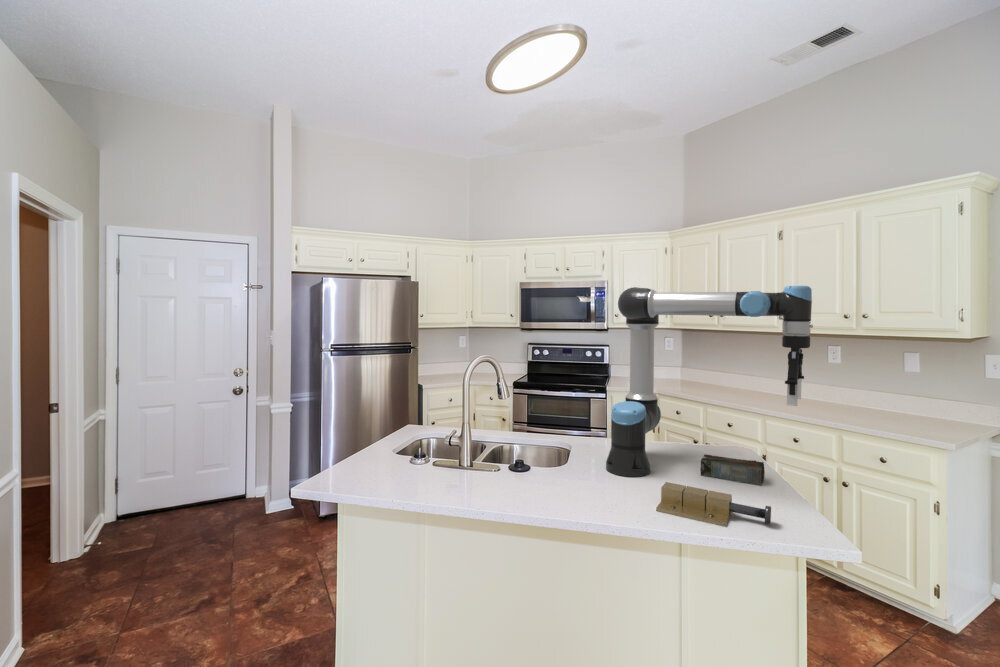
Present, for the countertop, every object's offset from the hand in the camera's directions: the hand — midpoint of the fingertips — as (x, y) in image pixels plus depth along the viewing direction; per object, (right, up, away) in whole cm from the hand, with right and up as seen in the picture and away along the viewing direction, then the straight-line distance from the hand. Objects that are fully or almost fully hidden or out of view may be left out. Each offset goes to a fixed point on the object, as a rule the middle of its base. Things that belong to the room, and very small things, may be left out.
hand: (794, 402), depth 153 cm
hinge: (-37, -28, -15) cm, 49 cm away
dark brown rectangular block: (-15, -28, +11) cm, 33 cm away
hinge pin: (-30, -28, -20) cm, 45 cm away
